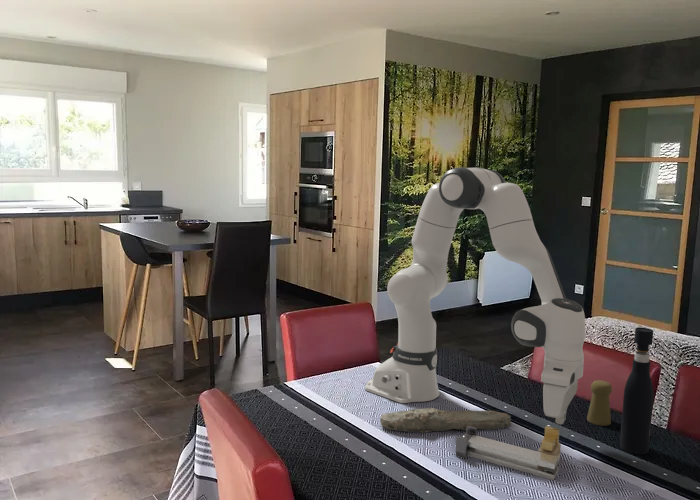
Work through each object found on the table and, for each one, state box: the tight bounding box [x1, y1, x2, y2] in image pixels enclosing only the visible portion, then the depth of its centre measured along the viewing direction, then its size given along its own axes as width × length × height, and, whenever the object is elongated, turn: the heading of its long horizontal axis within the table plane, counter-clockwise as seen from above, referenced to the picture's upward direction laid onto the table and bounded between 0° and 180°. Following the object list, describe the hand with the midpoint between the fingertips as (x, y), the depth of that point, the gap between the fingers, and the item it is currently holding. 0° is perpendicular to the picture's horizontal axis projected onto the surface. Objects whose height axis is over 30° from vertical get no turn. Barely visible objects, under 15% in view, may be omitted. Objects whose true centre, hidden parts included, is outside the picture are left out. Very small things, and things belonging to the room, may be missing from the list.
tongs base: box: [455, 426, 559, 481], centre depth 136 cm, size 22×7×5 cm, turn 58°
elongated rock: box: [380, 407, 512, 434], centre depth 156 cm, size 35×5×10 cm
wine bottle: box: [619, 327, 655, 455], centre depth 142 cm, size 6×6×30 cm
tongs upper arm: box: [461, 431, 560, 473], centre depth 136 cm, size 22×5×2 cm, turn 58°
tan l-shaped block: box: [540, 425, 560, 452], centre depth 136 cm, size 3×5×4 cm, turn 148°
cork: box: [586, 379, 613, 427], centre depth 159 cm, size 6×6×11 cm
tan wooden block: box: [537, 442, 562, 459], centre depth 137 cm, size 4×6×4 cm, turn 148°
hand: (560, 421), depth 143 cm, fingers closed
